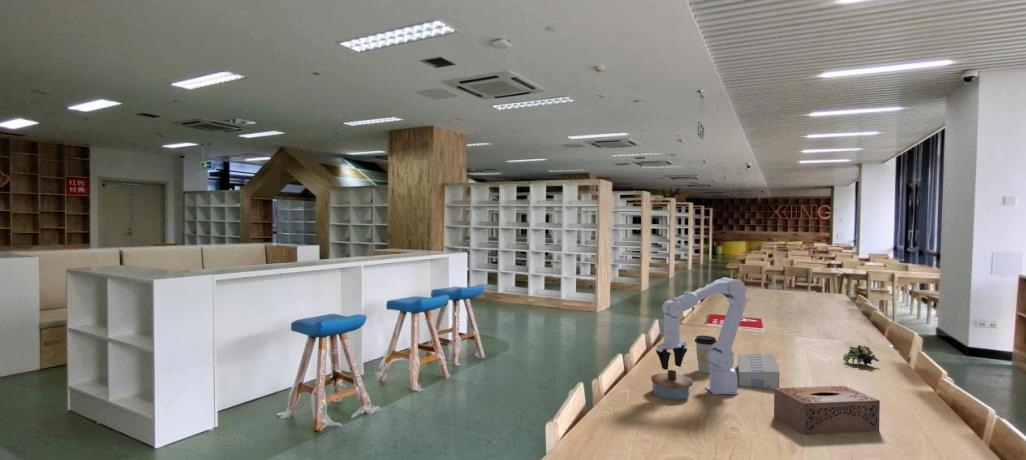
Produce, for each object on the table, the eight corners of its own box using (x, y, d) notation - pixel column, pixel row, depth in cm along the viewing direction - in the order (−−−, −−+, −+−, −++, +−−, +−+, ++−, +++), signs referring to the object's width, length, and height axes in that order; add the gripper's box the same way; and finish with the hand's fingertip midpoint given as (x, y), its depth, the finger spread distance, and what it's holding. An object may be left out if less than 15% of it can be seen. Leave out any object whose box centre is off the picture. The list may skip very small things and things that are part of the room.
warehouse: (738, 366, 229) (738, 350, 229) (773, 370, 224) (773, 353, 224) (738, 386, 202) (739, 367, 202) (779, 391, 196) (779, 371, 196)
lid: (685, 375, 198) (685, 365, 198) (698, 388, 183) (698, 377, 183) (647, 375, 198) (647, 365, 198) (657, 387, 183) (657, 376, 183)
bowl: (680, 388, 198) (680, 375, 198) (694, 399, 185) (694, 386, 185) (648, 388, 197) (648, 376, 197) (660, 400, 184) (660, 386, 184)
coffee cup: (719, 375, 215) (719, 340, 215) (695, 373, 217) (696, 339, 216) (714, 369, 224) (715, 335, 224) (692, 367, 226) (692, 334, 226)
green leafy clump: (864, 376, 233) (884, 358, 228) (856, 376, 226) (876, 357, 222) (843, 358, 241) (861, 340, 236) (834, 357, 234) (853, 338, 230)
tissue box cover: (803, 435, 154) (804, 403, 154) (773, 417, 169) (774, 388, 169) (879, 432, 158) (879, 400, 157) (843, 414, 172) (844, 385, 172)
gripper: (667, 336, 184) (667, 373, 184) (692, 331, 192) (692, 367, 192) (652, 332, 190) (652, 368, 190) (677, 328, 198) (677, 362, 198)
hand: (671, 367), depth 191 cm, fingers open, 7 cm apart
